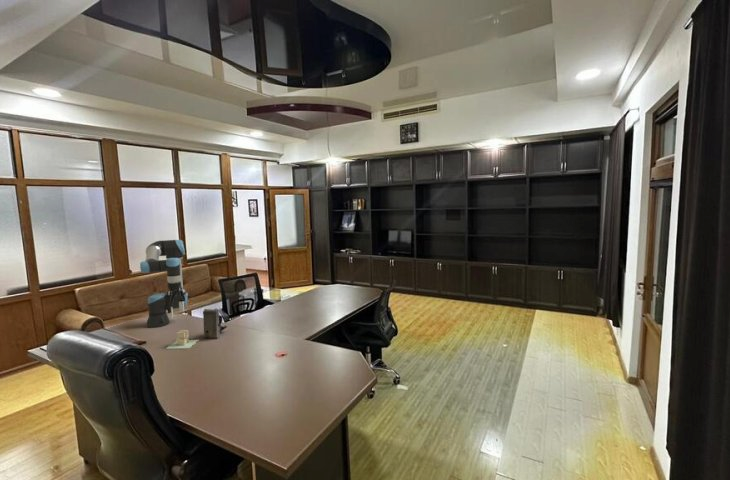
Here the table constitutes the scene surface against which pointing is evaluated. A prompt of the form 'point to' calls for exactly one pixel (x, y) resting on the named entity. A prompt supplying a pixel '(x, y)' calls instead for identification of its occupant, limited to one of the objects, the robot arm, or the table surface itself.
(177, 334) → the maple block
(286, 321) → the table surface
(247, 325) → the table surface
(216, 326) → the grey upright block
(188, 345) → the rest mat
